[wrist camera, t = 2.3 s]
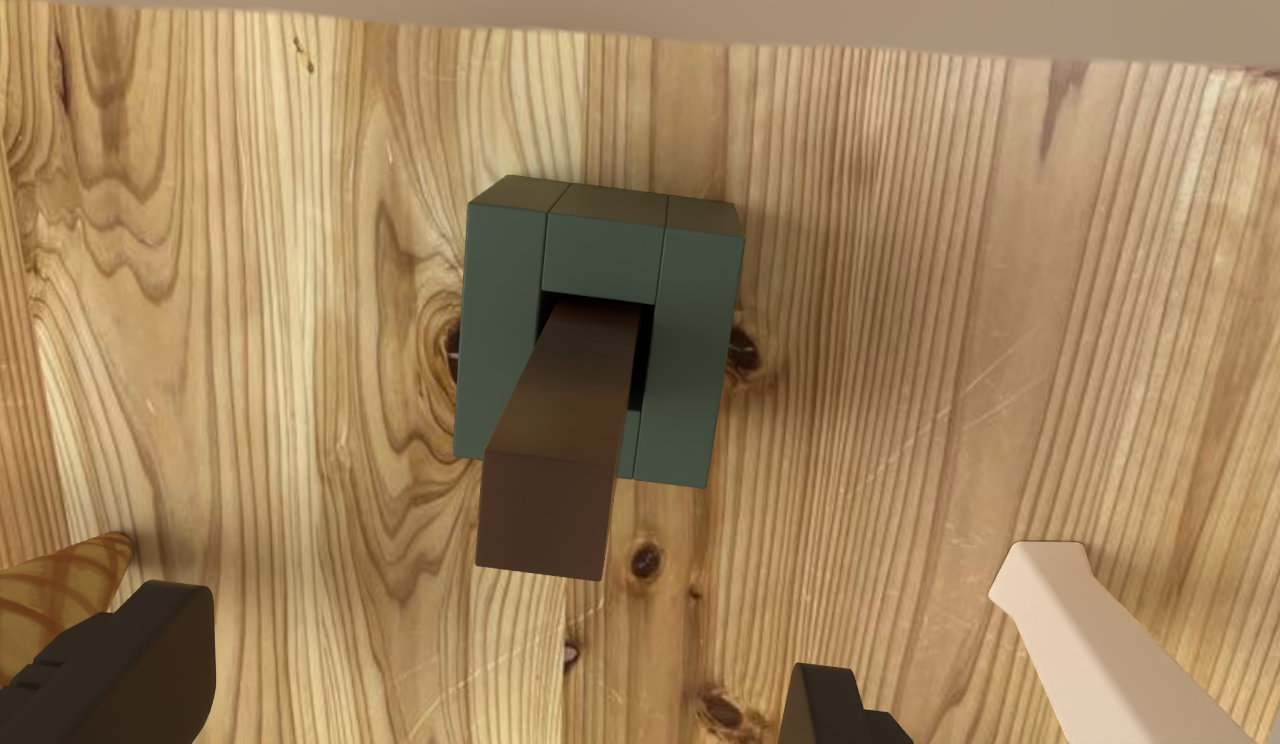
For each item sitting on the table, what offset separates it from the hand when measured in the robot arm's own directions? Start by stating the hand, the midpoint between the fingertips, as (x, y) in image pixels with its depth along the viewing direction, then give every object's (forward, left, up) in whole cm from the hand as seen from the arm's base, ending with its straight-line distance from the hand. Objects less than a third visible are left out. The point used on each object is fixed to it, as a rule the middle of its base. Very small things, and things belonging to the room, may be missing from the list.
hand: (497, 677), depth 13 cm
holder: (0, 0, -21) cm, 21 cm away
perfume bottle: (-17, +8, -21) cm, 28 cm away
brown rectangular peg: (0, 0, -21) cm, 21 cm away
